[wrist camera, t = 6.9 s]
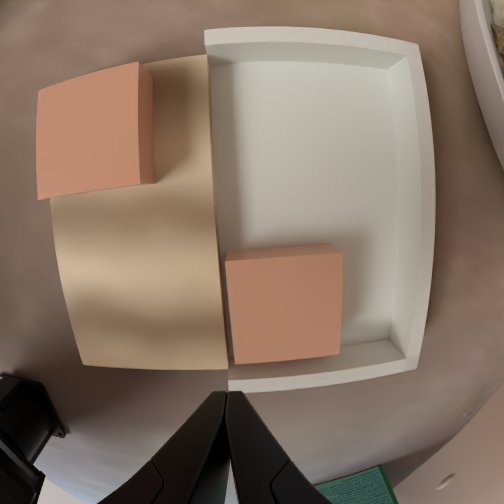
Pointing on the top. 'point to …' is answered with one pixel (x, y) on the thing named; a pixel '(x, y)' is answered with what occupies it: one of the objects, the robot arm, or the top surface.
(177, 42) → the top surface
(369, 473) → the milk carton
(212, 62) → the tray
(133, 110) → the tile
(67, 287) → the oak board
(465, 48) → the bowl
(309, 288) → the tile
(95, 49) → the top surface
